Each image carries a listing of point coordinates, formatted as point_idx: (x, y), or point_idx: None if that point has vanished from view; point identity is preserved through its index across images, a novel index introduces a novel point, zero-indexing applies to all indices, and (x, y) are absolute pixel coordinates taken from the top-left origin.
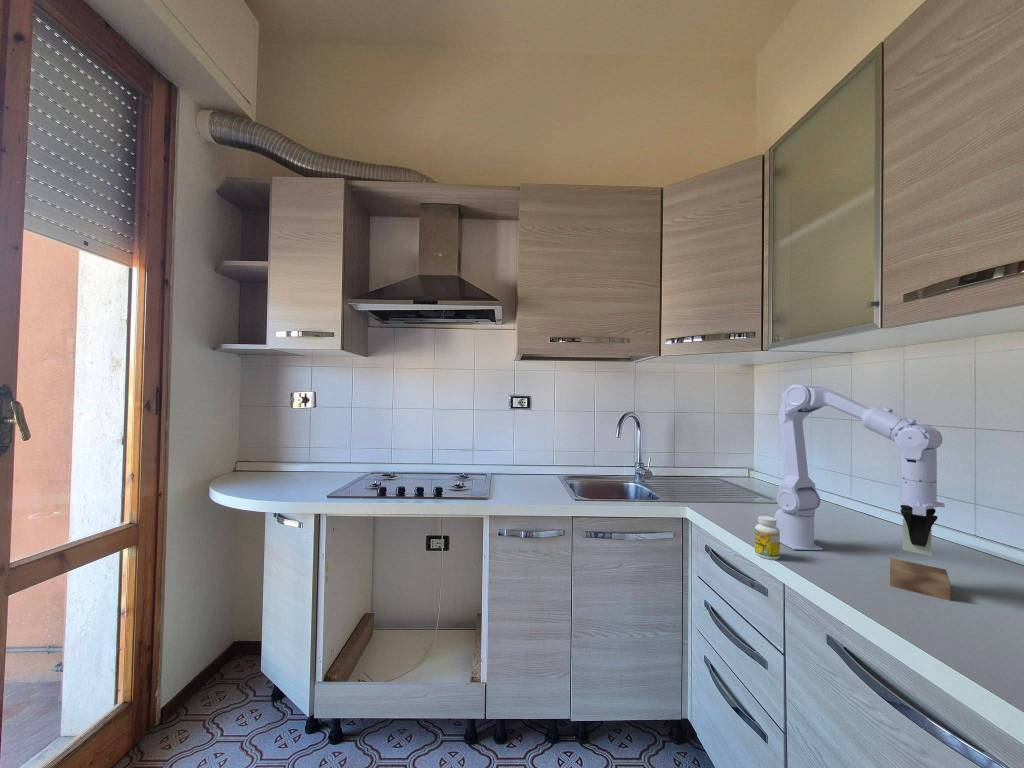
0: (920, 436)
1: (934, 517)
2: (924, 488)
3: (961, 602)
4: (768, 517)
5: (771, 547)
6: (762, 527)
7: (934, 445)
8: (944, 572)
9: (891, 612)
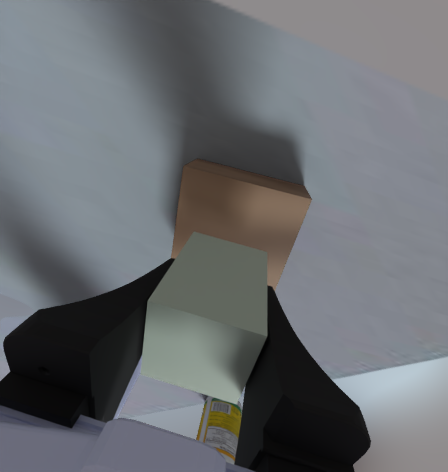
0: None
1: (370, 441)
2: None
3: (302, 163)
4: None
5: (239, 428)
6: None
7: None
8: (218, 180)
9: (429, 316)
